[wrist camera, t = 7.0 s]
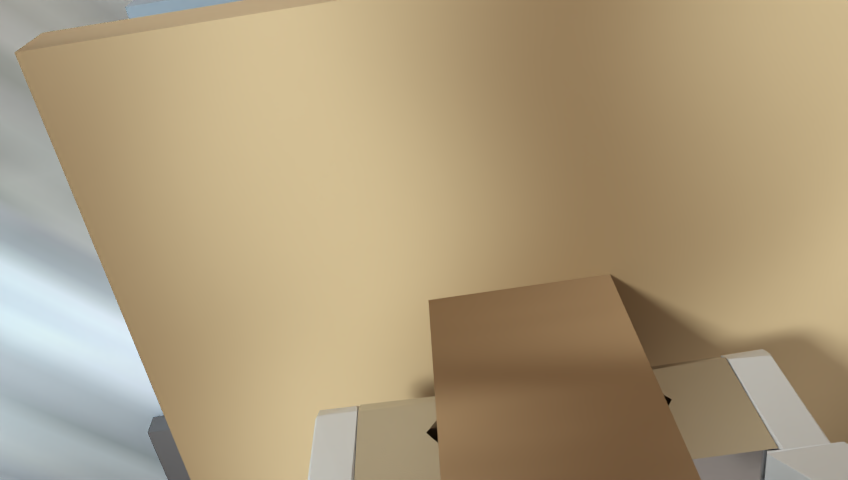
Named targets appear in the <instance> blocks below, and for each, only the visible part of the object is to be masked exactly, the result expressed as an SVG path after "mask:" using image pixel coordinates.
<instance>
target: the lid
mask: <svg viewBox="0 0 848 480" xmlns="http://www.w3.org/2000/svg"><path fill="white" fill-rule="evenodd" d="M15 55H16V57H17V60H18V62H19V65H20V67H21V69H22V72H23V74H24V77H25V79H26V82H27V84H28V86H29V89H30V91H31V94H32V96H33V99H34V101H35V103H36V106H37V108H38V111H39V113H40V115H41V118H42V120H43V123H44V125H45V128H46V130H47V132H48V135H49V137H50V140H51V142H52V145H53V147H54V149H55V152H56V154H57V157H58V159H59V162H60V164H61V166H62V169H63V171H64V174H65V176H66V179H67V181H68V183H69V186H70V188H71V191H72V193H73V196H74V198H75V200H76V203H77V205H78V208H79V210H80V213H81V215H82V217H83V220H84V222H85V225H86V227H87V230H88V232H89V234H90V237H91V239H92V242H93V244H94V247H95V249H96V251H97V254H98V256H99V259H100V261H101V263H102V266H103V268H104V271H105V273H106V276H107V278H108V280H109V283H110V285H111V288H112V290H113V293H114V295H115V297H116V300H117V302H118V305H119V307H120V310H121V312H122V314H123V317H124V319H125V322H126V324H127V327H128V329H129V331H130V334H131V336H132V339H133V341H134V344H135V346H136V348H137V351H138V353H139V356H140V358H141V361H142V363H143V365H144V368H145V370H146V373H147V375H148V378H149V380H150V382H151V385H152V387H153V390H154V392H155V394H156V397H157V399H158V402H159V404H160V407H161V409H162V411H163V414H164V416H165V419H166V421H167V424H168V426H169V428H170V431H171V433H172V436H173V438H174V441H175V443H176V445H177V448H178V450H179V453H180V455H181V458H182V460H183V462H184V465H185V467H186V470H187V472H188V475H189V477H190V479H191V480H308V473H309V465H310V458H311V450H312V442H313V434H314V426H315V419H316V417H317V415H318V413H319V411H320V410H325V409H334V408H343V407H351V406H360V405H362V404H371V403H380V402H389V401H397V400H406V399H415V398H424V397H432V396H435V403H436V418H437V433H438V447H439V462H440V476H441V480H701V478H700V476H699V474H698V471H697V469H696V467H695V465H694V462H693V460H692V458H691V456H690V453H689V451H688V449H687V447H686V444H685V442H684V440H683V438H682V435H681V433H680V431H679V429H678V426H677V424H676V422H675V420H674V417H673V415H672V413H671V411H670V408H669V406H668V404H667V402H666V399H665V397H664V395H663V393H662V390H661V388H660V386H659V384H658V381H657V379H656V377H655V374H654V372H653V370H652V368H651V366H658V365H665V364H672V363H679V362H686V361H693V360H699V359H706V358H713V357H721V355H728V354H734V353H740V352H747V351H753V350H759V349H763V350H765V351H767V352H769V353H770V354H771V355H772V357H773V358H774V360H775V361H776V363H777V364H778V366H779V367H780V369H781V370H782V372H783V373H784V375H785V376H786V378H787V379H788V381H789V382H790V384H791V385H792V387H793V388H794V389H795V391H796V392H797V394H798V395H799V397H800V398H801V400H802V401H803V403H804V404H805V406H806V407H807V409H808V410H809V412H810V413H811V415H812V416H813V418H814V419H815V421H816V422H817V423H818V425H819V426H820V428H821V429H822V431H823V432H824V434H825V435H826V437H827V438H828V440H829V441H830V443H836V442H846V443H848V0H242V1H236V2H230V3H224V4H218V5H212V6H205V7H199V8H193V9H187V10H181V11H174V12H168V13H162V14H156V15H150V16H144V17H137V18H131V19H125V20H119V21H113V22H107V23H100V24H94V25H88V26H82V27H76V28H70V29H63V30H57V31H51V32H45V33H42V34H40V35H39V36H37V37H36V38H34V39H33V40H32V41H30V42H29V43H27V44H26V45H25V46H23V47H22V48H20V49H19V50H17V51H16V52H15Z"/></svg>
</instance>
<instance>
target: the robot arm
mask: <svg viewBox="0 0 848 480" xmlns="http://www.w3.org/2000/svg"><path fill="white" fill-rule="evenodd" d="M651 368H652V370H653V372H654V374H655V377H656V379H657V381H658V384H659V386H660V388H661V390H662V393H663V395H664V397H665V399H666V402H667V404H668V406H669V408H670V411H671V413H672V415H673V417H674V420H675V422H676V424H677V426H678V429H679V431H680V433H681V435H682V438H683V440H684V442H685V444H686V447H687V449H688V451H689V453H690V456H691V458H692V460H693V462H694V465H695V467H696V469H697V471H698V474H699V476H700V478H701V480H848V443H846V442H836V443H830V441H829V440H828V438H827V437H826V435H825V434H824V432H823V431H822V429H821V428H820V426H819V425H818V423H817V422H816V421H815V419H814V418H813V416H812V415H811V413H810V412H809V410H808V409H807V407H806V406H805V404H804V403H803V401H802V400H801V398H800V397H799V395H798V394H797V392H796V391H795V389H794V388H793V387H792V385H791V384H790V382H789V381H788V379H787V378H786V376H785V375H784V373H783V372H782V370H781V369H780V367H779V366H778V364H777V363H776V361H775V360H774V358H773V357H772V355H771V354H770V353H769V352H767V351H765V350H763V349H759V350H753V351H747V352H740V353H734V354H728V355H721V357H713V358H706V359H699V360H693V361H686V362H679V363H672V364H665V365H658V366H651ZM308 480H441V476H440V462H439V447H438V433H437V418H436V403H435V396H432V397H424V398H415V399H406V400H397V401H389V402H380V403H371V404H362V405H360V406H351V407H343V408H334V409H325V410H320V411H319V413H318V415H317V417H316V419H315V426H314V434H313V442H312V450H311V458H310V465H309V473H308Z"/></svg>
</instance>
